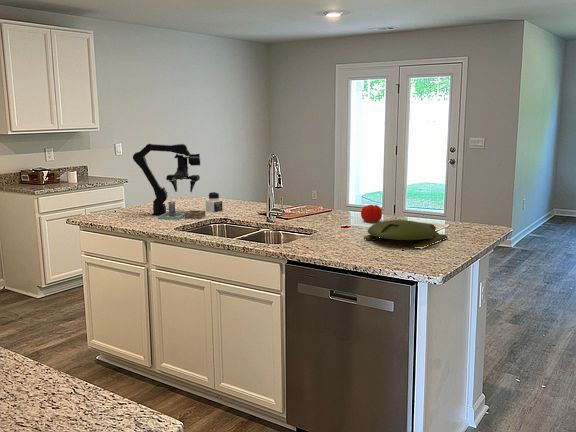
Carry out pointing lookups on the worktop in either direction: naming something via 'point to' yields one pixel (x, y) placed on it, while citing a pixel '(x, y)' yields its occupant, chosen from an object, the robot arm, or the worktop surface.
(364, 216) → the tomato
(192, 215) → the socket block
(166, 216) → the tray
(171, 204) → the stop pin
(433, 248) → the worktop surface
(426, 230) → the olive green domed shape
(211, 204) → the medicine bottle
